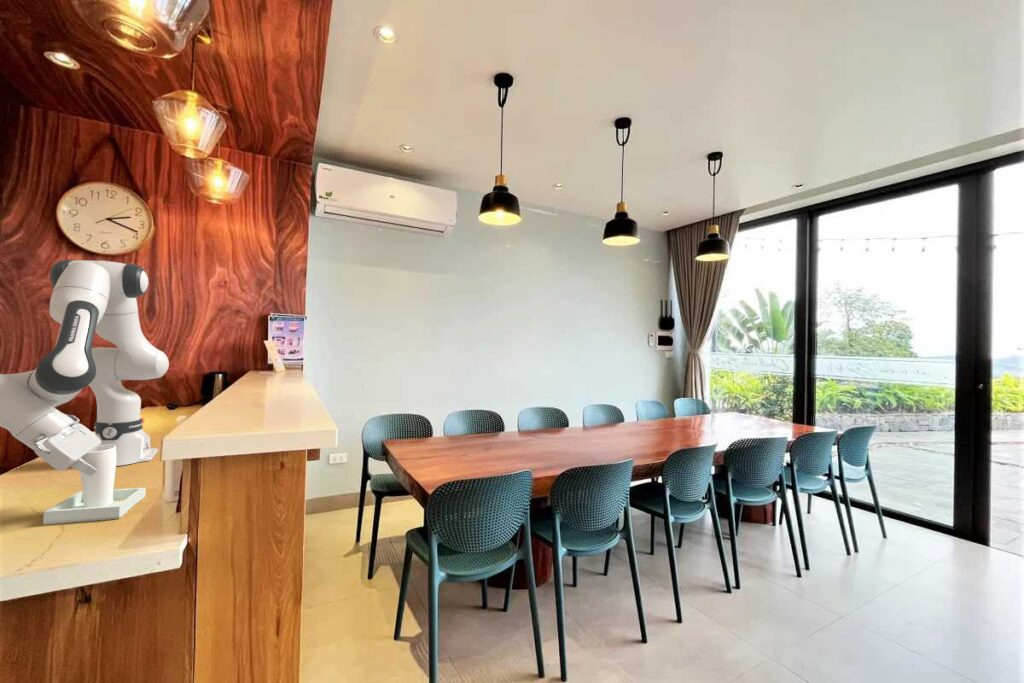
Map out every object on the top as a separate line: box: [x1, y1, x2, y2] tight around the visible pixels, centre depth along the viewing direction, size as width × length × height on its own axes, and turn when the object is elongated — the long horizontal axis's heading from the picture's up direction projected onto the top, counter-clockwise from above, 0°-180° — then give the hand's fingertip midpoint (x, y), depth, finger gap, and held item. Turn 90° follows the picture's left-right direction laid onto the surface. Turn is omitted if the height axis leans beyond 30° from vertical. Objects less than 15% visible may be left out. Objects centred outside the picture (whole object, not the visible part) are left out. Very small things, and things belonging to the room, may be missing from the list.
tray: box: [42, 487, 147, 526], centre depth 109 cm, size 14×14×3 cm
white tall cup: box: [79, 444, 117, 508], centre depth 109 cm, size 7×7×15 cm
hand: (101, 467), depth 109 cm, fingers open, 8 cm apart
